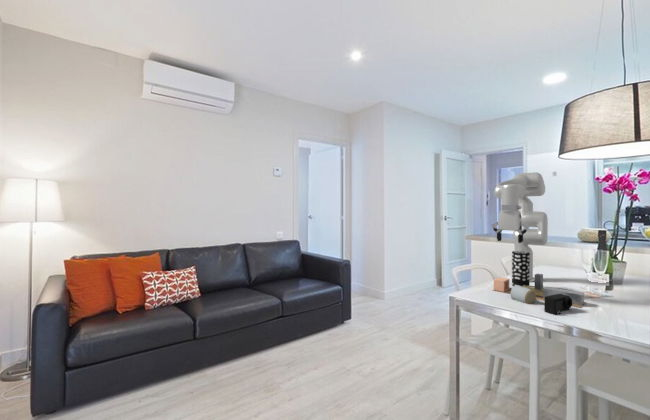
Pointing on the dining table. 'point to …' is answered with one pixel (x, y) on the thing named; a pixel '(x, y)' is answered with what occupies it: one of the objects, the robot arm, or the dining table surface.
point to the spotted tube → (520, 268)
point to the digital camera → (557, 303)
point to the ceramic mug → (523, 294)
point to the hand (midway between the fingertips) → (509, 241)
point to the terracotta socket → (501, 284)
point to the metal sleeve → (575, 296)
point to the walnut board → (537, 297)
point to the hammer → (537, 285)
